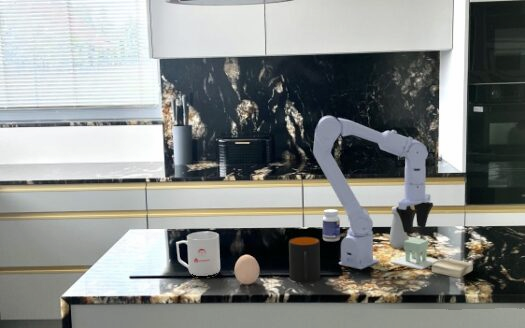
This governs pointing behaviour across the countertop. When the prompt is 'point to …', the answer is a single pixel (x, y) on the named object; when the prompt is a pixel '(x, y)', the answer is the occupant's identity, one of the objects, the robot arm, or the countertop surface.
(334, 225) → the pill bottle
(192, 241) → the mug
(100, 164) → the countertop surface
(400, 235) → the salt shaker
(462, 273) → the step
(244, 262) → the egg
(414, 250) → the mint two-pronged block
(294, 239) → the mug
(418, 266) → the pad
